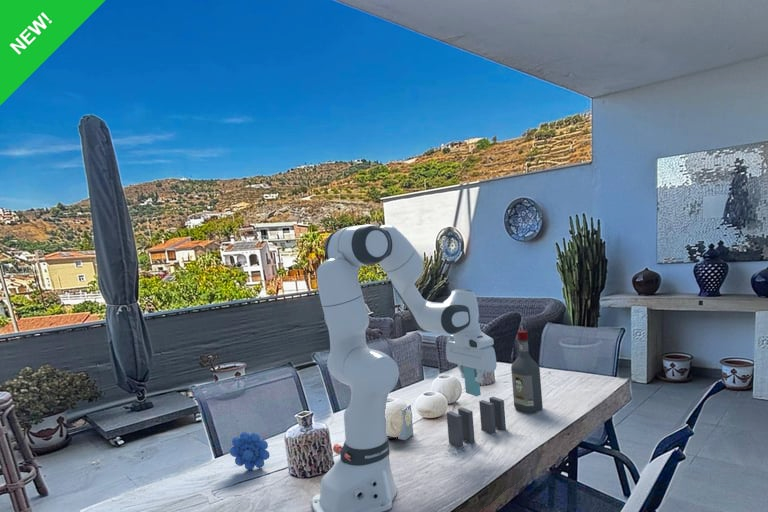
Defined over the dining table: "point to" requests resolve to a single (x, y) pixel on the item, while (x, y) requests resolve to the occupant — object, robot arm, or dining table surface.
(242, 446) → the blue flower
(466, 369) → the domino
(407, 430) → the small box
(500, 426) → the domino
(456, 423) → the domino
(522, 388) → the liquor
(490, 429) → the domino
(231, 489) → the dining table surface
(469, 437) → the domino
